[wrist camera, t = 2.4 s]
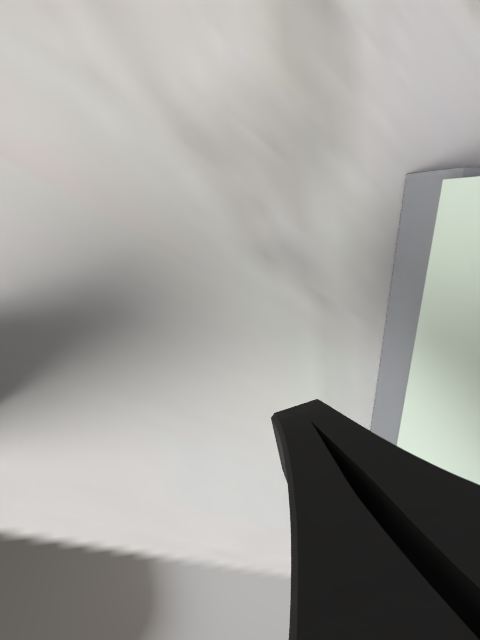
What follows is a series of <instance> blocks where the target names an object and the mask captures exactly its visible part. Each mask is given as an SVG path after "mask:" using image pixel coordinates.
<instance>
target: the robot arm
mask: <svg viewBox="0 0 480 640" xmlns="http://www.w3.org/2000/svg"><path fill="white" fill-rule="evenodd" d="M271 420H272V424H273V429H274V433H275V438H276V442H277V447H278V451H279V456H280V460H281V465H282V469H283V472H284V475H285V477H286V480H287V483H288V492H289V505H290V521H291V605H290V606H291V607H290V629H289V640H480V485H479V484H476V483H474V482H472V481H469V480H467V479H465V478H462V477H460V476H457V475H455V474H453V473H451V472H448V471H446V470H444V469H442V468H440V467H438V466H435V465H433V464H431V463H429V462H427V461H425V460H423V459H421V458H419V457H417V456H415V455H413V454H411V453H409V452H407V451H405V450H404V449H402V448H400V447H398V446H396V445H394V444H392V443H391V442H389V441H387V440H385V439H384V438H382V437H380V436H378V435H376V434H375V433H373V432H371V431H369V430H368V429H366V428H364V427H363V426H361V425H359V424H358V423H356V422H354V421H353V420H351V419H349V418H348V417H346V416H344V415H343V414H341V413H340V412H338V411H336V410H335V409H333V408H332V407H330V406H328V405H327V404H325V403H323V402H322V401H320V400H318V399H316V400H313V401H310V402H307V403H304V404H301V405H298V406H295V407H291V408H288V409H285V410H282V411H279V412H276V413H274V414H273V416H272V417H271Z"/></svg>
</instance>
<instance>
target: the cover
mask: <svg viewBox="0 0 480 640" xmlns="http://www.w3.org/2000/svg"><path fill="white" fill-rule="evenodd" d="M397 446H398V447H400V448H402V449H404V450H405V451H407V452H409V453H411V454H413V455H415V456H417V457H419V458H421V459H423V460H425V461H427V462H429V463H431V464H433V465H435V466H438V467H440V468H442V469H444V470H446V471H448V472H451V473H453V474H455V475H457V476H460V477H462V478H465V479H467V480H469V481H472V482H474V483H476V484H479V485H480V176H477V177H466V178H455V179H444V180H443V182H442V188H441V194H440V200H439V205H438V211H437V217H436V223H435V228H434V234H433V240H432V246H431V251H430V257H429V263H428V269H427V274H426V280H425V286H424V292H423V297H422V303H421V309H420V315H419V320H418V326H417V332H416V338H415V343H414V349H413V355H412V361H411V366H410V372H409V378H408V384H407V389H406V395H405V401H404V407H403V412H402V418H401V424H400V430H399V435H398V441H397Z"/></svg>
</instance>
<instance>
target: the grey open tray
mask: <svg viewBox="0 0 480 640" xmlns="http://www.w3.org/2000/svg"><path fill="white" fill-rule="evenodd" d="M477 176H480V167H462V168H454V169H445V170H437V171H428V172H419V173H411V174H407V175H406V182H405V189H404V196H403V203H402V210H401V217H400V224H399V232H398V239H397V246H396V253H395V260H394V267H393V274H392V281H391V288H390V296H389V303H388V310H387V317H386V324H385V331H384V338H383V345H382V352H381V360H380V367H379V374H378V381H377V388H376V395H375V402H374V409H373V417H372V424H371V432H373V433H375V434H376V435H378V436H380V437H382V438H384V439H385V440H387V441H389V442H391V443H392V444H394V445H396V446H397V441H398V435H399V430H400V424H401V418H402V412H403V407H404V401H405V395H406V389H407V384H408V378H409V372H410V366H411V361H412V355H413V349H414V343H415V338H416V332H417V326H418V320H419V315H420V309H421V303H422V297H423V292H424V286H425V280H426V274H427V269H428V263H429V257H430V251H431V246H432V240H433V234H434V228H435V223H436V217H437V211H438V205H439V200H440V194H441V188H442V182H443V180H444V179H455V178H466V177H477Z"/></svg>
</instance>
